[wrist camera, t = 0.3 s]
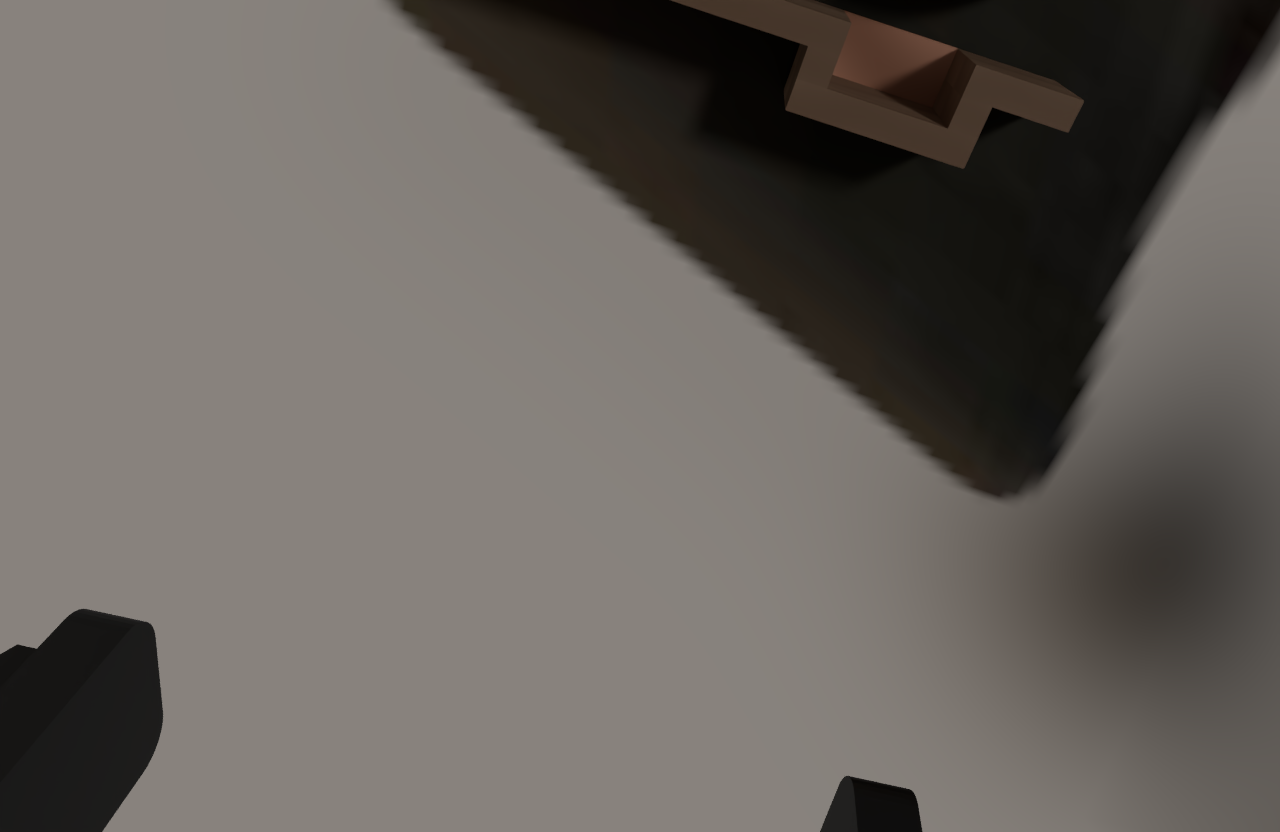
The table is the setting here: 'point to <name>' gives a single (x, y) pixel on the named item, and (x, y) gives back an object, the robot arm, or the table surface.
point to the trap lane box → (895, 79)
